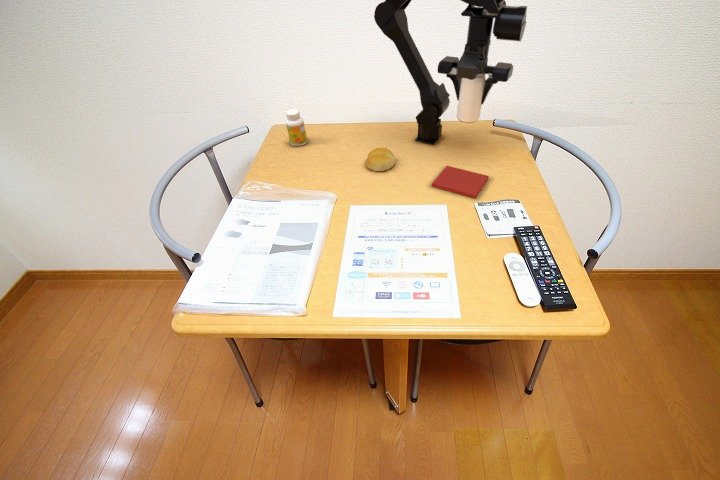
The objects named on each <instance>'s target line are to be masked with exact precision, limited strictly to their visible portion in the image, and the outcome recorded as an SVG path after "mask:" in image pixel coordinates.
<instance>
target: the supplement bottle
mask: <svg viewBox="0 0 720 480" xmlns="http://www.w3.org/2000/svg"><path fill="white" fill-rule="evenodd" d="M285 115H286V116H285V117H286V120H285V126H286V129H287V134H288V138H289V139H288V140H289V144H290V145H292V146H294V147H302V146H304V145H306V144H307V143H308V138H307V132H306V127H305V126H306V125H305V121H304V119H303V117H301V113H300V110H299V109H296V108H293V109H288V110H287V111H286V112H285Z"/></svg>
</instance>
